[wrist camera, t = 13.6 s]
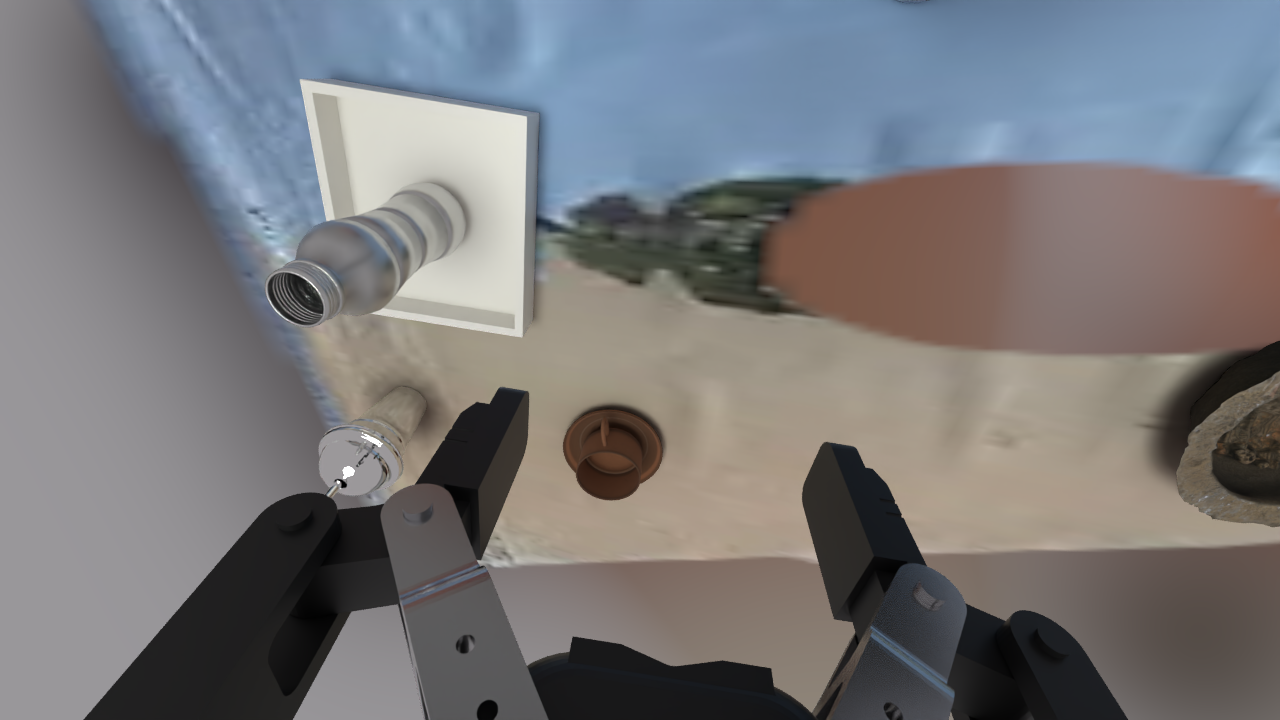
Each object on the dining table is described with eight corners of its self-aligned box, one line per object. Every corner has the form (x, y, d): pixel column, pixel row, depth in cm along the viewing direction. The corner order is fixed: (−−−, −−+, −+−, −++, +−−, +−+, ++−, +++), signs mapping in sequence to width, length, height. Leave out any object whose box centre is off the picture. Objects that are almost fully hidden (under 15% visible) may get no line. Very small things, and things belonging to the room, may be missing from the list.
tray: (331, 78, 41) (299, 79, 38) (539, 113, 42) (527, 116, 38) (365, 293, 52) (343, 309, 48) (532, 320, 52) (522, 337, 48)
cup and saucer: (548, 420, 59) (535, 454, 54) (637, 388, 56) (632, 421, 50) (594, 487, 64) (586, 524, 59) (678, 462, 61) (678, 499, 56)
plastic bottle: (464, 176, 44) (325, 241, 27) (480, 249, 47) (366, 349, 30) (396, 178, 44) (217, 244, 27) (416, 251, 48) (268, 349, 31)
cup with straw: (455, 401, 58) (362, 538, 41) (420, 443, 62) (321, 584, 45) (392, 359, 56) (264, 485, 38) (359, 405, 59) (229, 539, 42)
